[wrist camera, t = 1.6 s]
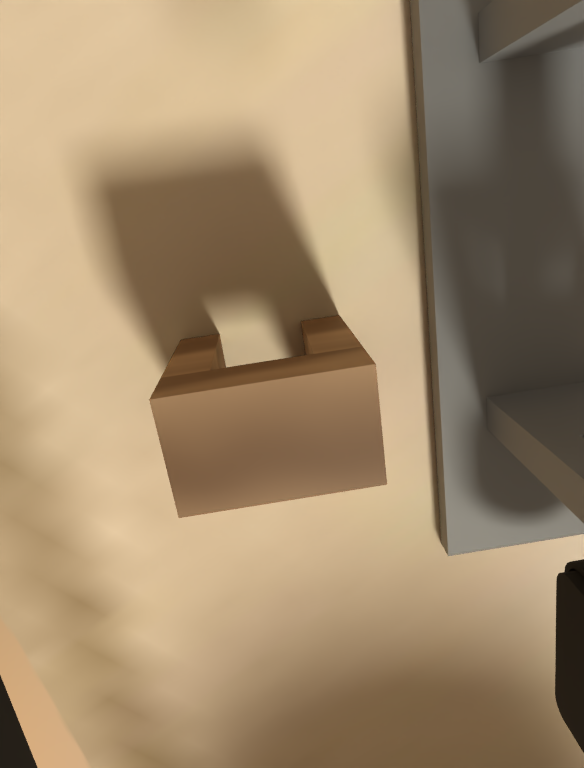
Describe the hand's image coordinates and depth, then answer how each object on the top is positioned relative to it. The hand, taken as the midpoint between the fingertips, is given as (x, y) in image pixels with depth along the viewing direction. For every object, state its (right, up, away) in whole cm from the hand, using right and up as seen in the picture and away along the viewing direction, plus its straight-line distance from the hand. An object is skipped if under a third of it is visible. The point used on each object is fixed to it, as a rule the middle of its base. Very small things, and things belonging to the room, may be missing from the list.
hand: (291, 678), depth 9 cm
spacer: (-1, +5, +14) cm, 15 cm away
